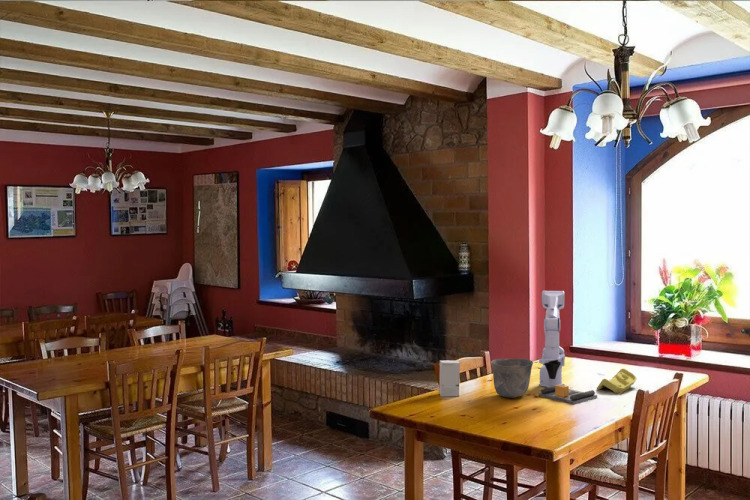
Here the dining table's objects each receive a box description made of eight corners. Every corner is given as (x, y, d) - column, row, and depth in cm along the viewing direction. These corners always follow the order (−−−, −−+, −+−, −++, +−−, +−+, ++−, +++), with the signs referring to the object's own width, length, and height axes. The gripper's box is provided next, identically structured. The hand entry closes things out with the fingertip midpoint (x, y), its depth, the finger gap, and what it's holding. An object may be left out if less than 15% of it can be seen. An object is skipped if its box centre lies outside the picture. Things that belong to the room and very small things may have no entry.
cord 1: (539, 393, 298) (539, 388, 298) (561, 388, 307) (561, 383, 307) (543, 394, 296) (543, 389, 296) (565, 388, 305) (565, 384, 305)
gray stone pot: (502, 389, 310) (502, 356, 310) (539, 394, 300) (539, 360, 300) (484, 397, 296) (484, 362, 295) (523, 403, 286) (523, 367, 285)
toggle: (555, 394, 294) (555, 384, 294) (560, 393, 296) (560, 383, 296) (563, 396, 291) (563, 386, 290) (568, 395, 293) (568, 385, 292)
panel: (538, 395, 298) (538, 392, 298) (562, 390, 308) (562, 387, 308) (574, 404, 284) (574, 401, 284) (597, 397, 294) (597, 394, 294)
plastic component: (621, 389, 299) (601, 376, 305) (614, 403, 302) (595, 390, 308) (640, 378, 314) (620, 366, 319) (633, 391, 316) (614, 379, 322)
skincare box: (440, 397, 298) (440, 362, 298) (439, 393, 304) (438, 359, 304) (460, 396, 299) (460, 362, 298) (458, 393, 305) (457, 359, 304)
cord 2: (568, 400, 286) (568, 395, 286) (590, 394, 295) (590, 389, 295) (573, 401, 284) (573, 396, 284) (594, 395, 293) (594, 390, 293)
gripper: (548, 349, 281) (548, 382, 281) (570, 345, 290) (571, 377, 290) (535, 347, 287) (535, 380, 287) (557, 343, 295) (557, 375, 296)
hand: (552, 378), depth 289 cm, fingers closed
